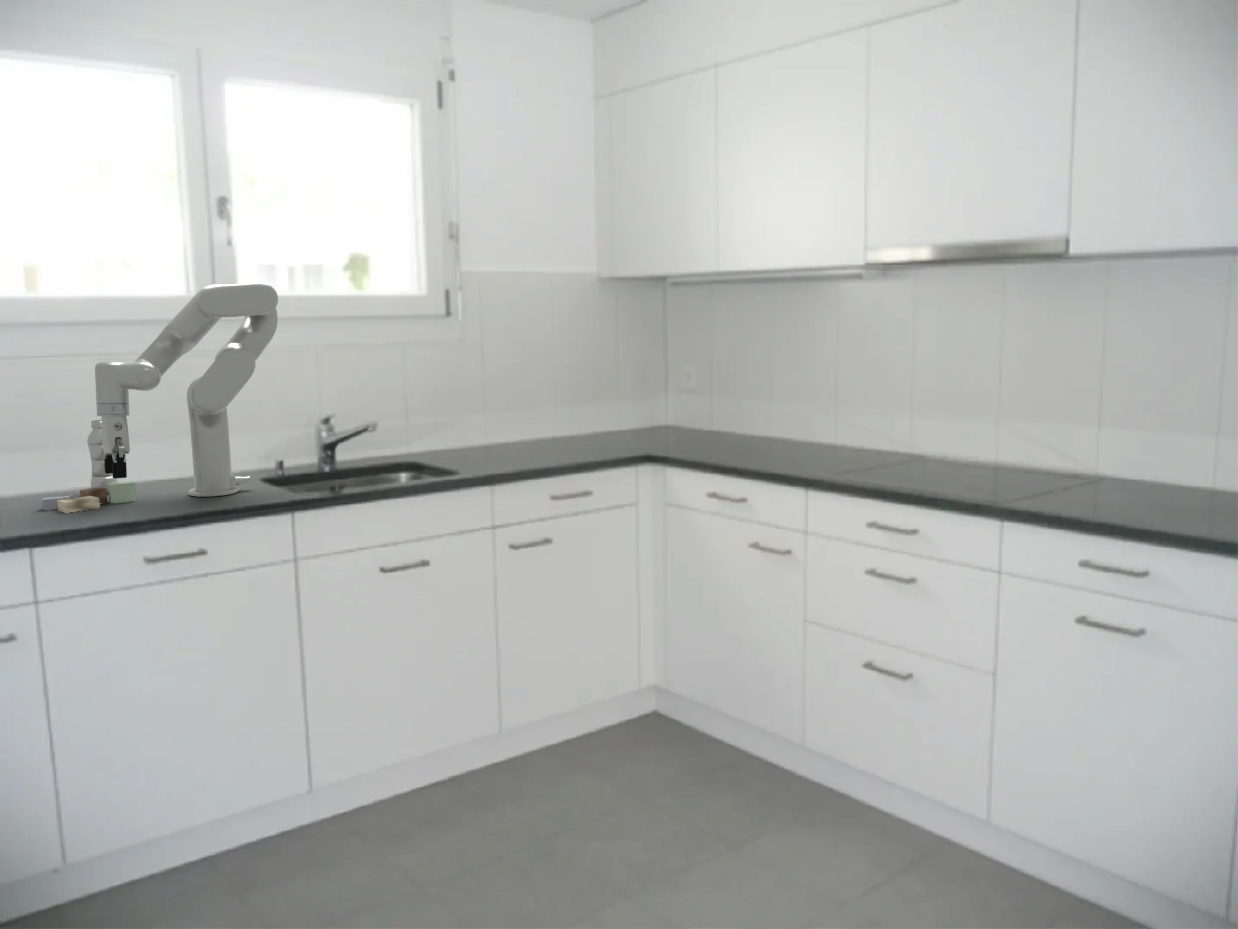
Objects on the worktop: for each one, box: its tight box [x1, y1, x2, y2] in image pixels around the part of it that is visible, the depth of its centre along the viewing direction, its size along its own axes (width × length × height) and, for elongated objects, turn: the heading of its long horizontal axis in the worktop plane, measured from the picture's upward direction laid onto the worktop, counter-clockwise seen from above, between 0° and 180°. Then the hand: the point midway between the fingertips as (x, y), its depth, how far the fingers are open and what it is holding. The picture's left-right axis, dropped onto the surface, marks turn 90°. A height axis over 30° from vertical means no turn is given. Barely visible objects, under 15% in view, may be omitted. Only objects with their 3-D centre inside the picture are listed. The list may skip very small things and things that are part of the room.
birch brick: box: [57, 496, 101, 514], centre depth 250 cm, size 8×5×3 cm, turn 139°
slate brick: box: [41, 495, 72, 511], centre depth 252 cm, size 6×4×3 cm, turn 113°
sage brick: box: [107, 480, 138, 504], centre depth 261 cm, size 6×4×5 cm, turn 128°
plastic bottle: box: [86, 419, 118, 494], centre depth 272 cm, size 6×7×20 cm
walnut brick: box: [79, 487, 109, 504], centre depth 258 cm, size 5×4×4 cm
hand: (115, 475), depth 260 cm, fingers open, 9 cm apart
